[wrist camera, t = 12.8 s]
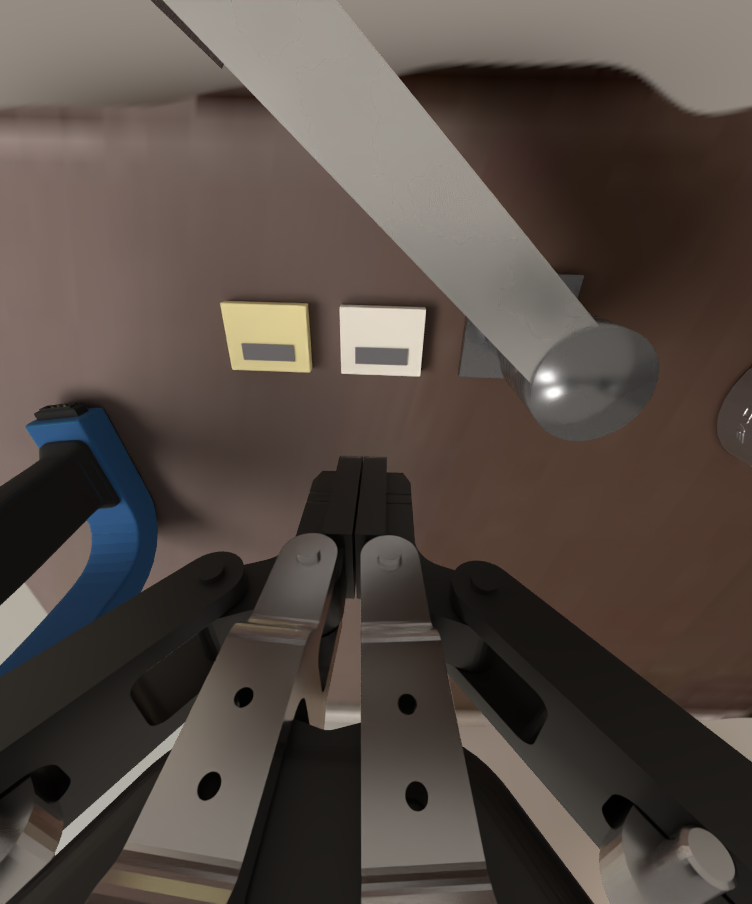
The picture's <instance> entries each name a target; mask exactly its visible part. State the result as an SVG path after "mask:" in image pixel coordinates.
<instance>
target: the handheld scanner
mask: <svg viewBox="0 0 752 904" xmlns="http://www.w3.org/2000/svg"><path fill="white" fill-rule="evenodd" d="M39 410H40V411H38V412H36V413H35V414H34V415H35V417H36V418H37V420H35V421H33V422H31V423H29V424H27V425H26V429H27V431H28V432H29V434H30V435H31V437H32V438H33V440H34V441H35V443H36V444H37V446H38V447H39V458H40V460H39V461H38V462H36V463H35V464H33V465H32V466H31V467H29V468H28V469H26V470H25V471H23V472H21V473H20V474H18V475H17V476H15V477H14V478H12V479H11V480H9V481H8V482H6V483H5V484H3V485H2V486H0V605H1V604H2V603H3V602H4V601H6V600H7V598H9V597H10V596H11V595H12V594H13V593H14V592H15V591H16V590H17V589H18V588H19V587H20V586H21V585H22V584H23V583H24V582H26V581H27V580H28V579H29V578H30V577H31V576H32V575H33V574H34V573H35V572H36V571H37V570H38V569H39V568H40V567H41V566H42V565H43V564H44V563H45V562H46V561H47V560H48V559H49V558H50V557H51V556H52V555H53V554H54V553H55V552H56V551H57V550H58V549H59V548H60V547H61V546H62V545H63V543H64V542H65V541H66V540H67V539H68V538H69V537H70V536H71V535H72V534H73V533H74V532H75V531H76V530H77V529H78V528H79V527H80V526H81V525H82V524H83V523H84V522H85V521H86V520H87V521H88V523H89V525H90V530H91V534H92V547H91V554H90V557H89V560H88V563H87V565H86V567H85V569H84V571H83V573H82V574H81V576H80V577H79V579H78V580H77V581H76V583H75V584H74V585H73V587H72V588H71V589H70V590H69V591H68V593H67V594H66V595H65V596H64V597H63V599H62V600H61V601H60V602H59V603H58V604H57V605H56V606H55V608H54V609H53V610H52V611H51V612H50V613H49V614H48V615H47V617H46V618H45V619H44V620H43V621H42V622H41V623H40V624H39V625H38V626H37V628H36V629H35V630H34V631H33V632H32V633H31V634H30V635H29V636H28V637H27V638H26V639H25V640H24V642H22V644H21V645H20V646H19V647H18V648H17V649H16V650H15V651H14V652H13V653H12V654H11V655H10V656H9V657H8V658H7V659H6V660H5V661H4V662H3V663H2V664H1V665H0V677H1V676H3V675H5V674H6V673H8V672H10V671H11V670H13V669H15V668H16V667H18V666H20V665H21V664H23V663H25V662H26V661H28V660H30V659H31V658H33V657H35V656H36V655H38V654H40V653H41V652H43V651H45V650H46V649H48V648H50V647H51V646H53V645H55V644H56V643H58V642H59V641H61V640H63V639H64V638H66V637H68V636H69V635H71V634H73V633H74V632H76V631H78V630H79V629H81V628H83V627H84V626H86V625H88V624H89V623H91V622H93V621H94V620H96V619H98V618H99V617H101V616H103V615H104V614H106V613H108V612H109V611H111V610H113V609H114V608H116V607H118V606H119V605H121V604H123V603H124V602H126V601H128V600H129V599H131V598H133V597H134V596H136V595H138V594H139V593H140V592H141V591H142V589H143V586H144V584H145V582H146V580H147V578H148V576H149V574H150V571H151V568H152V565H153V562H154V557H155V552H156V547H157V534H158V530H157V517H156V512H155V507H154V503H153V501H152V498H151V496H150V494H149V492H148V490H147V488H146V486H145V484H144V483H143V481H142V479H141V477H140V475H139V473H138V472H137V470H136V468H135V466H134V464H133V462H132V461H131V459H130V457H129V455H128V453H127V451H126V450H125V448H124V446H123V444H122V442H121V440H120V438H119V437H118V435H117V433H116V431H115V429H114V427H113V426H112V424H111V422H110V420H109V418H108V416H107V415H106V413H105V411H104V409H103V408H90V409H87V407H86V405H85V404H77V403H68V404H59V405H49V406H45V407H43V408H41V409H39Z"/></svg>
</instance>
